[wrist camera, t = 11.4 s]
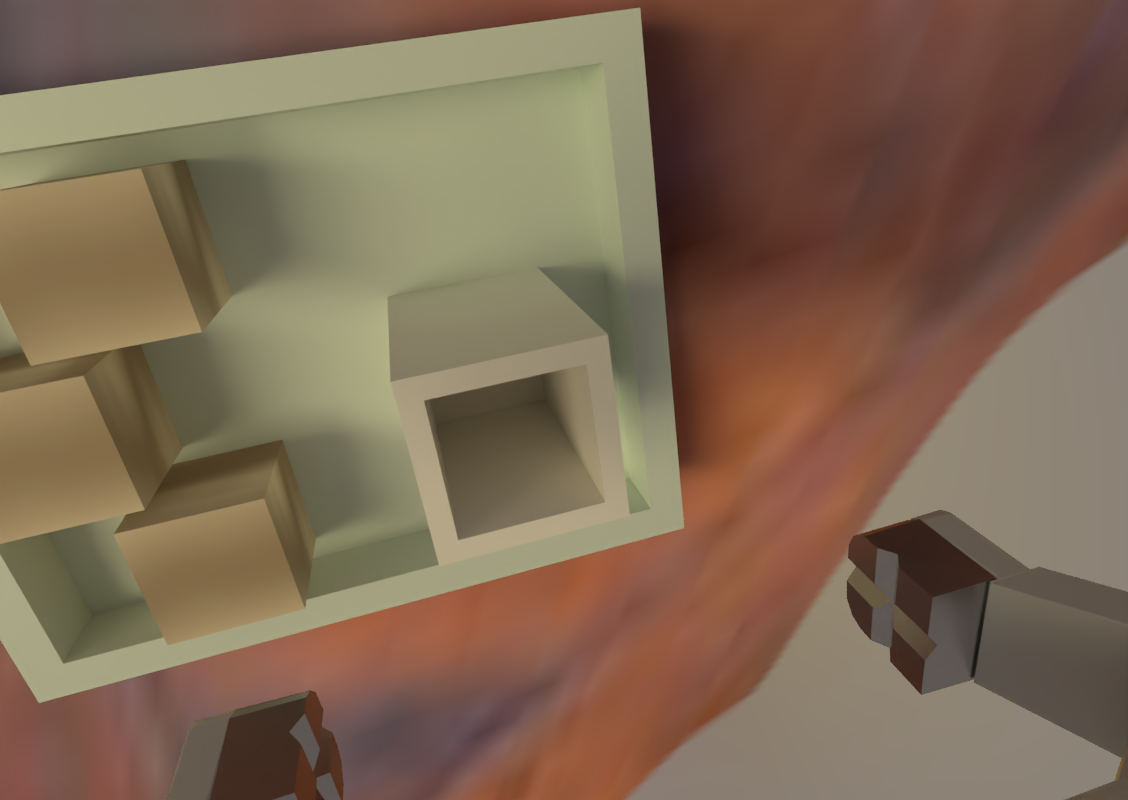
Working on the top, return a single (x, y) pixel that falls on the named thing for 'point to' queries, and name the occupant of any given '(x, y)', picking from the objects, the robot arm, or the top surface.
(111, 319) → the maple block
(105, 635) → the tray
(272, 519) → the maple block
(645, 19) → the top surface
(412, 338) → the cream hollow square tube
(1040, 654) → the robot arm
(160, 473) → the maple block
